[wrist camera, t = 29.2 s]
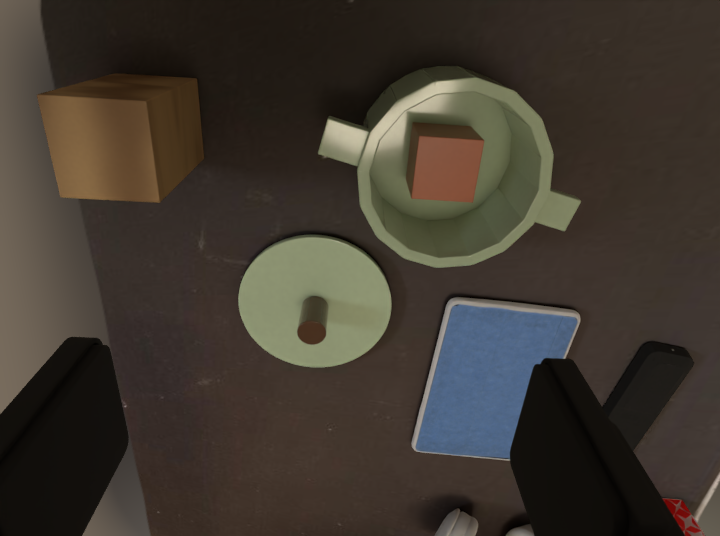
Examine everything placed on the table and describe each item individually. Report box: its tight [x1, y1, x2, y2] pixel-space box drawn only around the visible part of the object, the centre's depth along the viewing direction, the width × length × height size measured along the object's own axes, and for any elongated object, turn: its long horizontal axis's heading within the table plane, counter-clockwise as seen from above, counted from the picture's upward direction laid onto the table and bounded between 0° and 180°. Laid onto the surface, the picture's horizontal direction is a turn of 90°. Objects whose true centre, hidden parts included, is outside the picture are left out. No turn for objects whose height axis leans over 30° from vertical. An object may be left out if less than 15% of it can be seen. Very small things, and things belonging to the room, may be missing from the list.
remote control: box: [603, 342, 694, 451], centre depth 51 cm, size 5×2×15 cm
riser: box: [37, 73, 204, 203], centre depth 33 cm, size 6×6×10 cm
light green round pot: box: [318, 65, 581, 268], centre depth 36 cm, size 13×18×8 cm
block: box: [406, 122, 484, 203], centre depth 37 cm, size 4×4×4 cm
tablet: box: [411, 297, 581, 460], centre depth 49 cm, size 19×13×1 cm, turn 172°
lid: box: [238, 235, 392, 367], centre depth 43 cm, size 14×14×5 cm
